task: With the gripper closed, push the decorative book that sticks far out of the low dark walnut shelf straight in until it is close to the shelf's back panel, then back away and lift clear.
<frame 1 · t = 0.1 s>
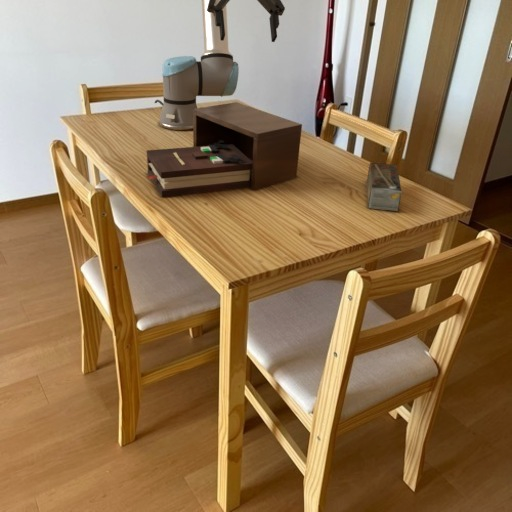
hand: (248, 38, 124), 36 cm above the table, tool tilted 35°, fingers open, 13 cm apart
decorative book: (199, 180, 135), on the table
beverage carton: (380, 196, 132), on the table
walnut shelf: (243, 168, 144), on the table
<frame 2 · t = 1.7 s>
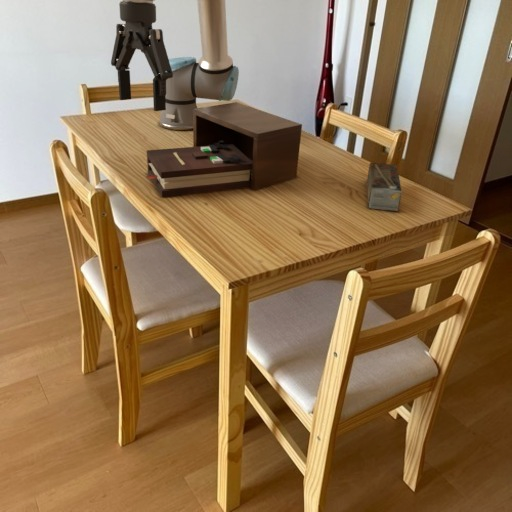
hand: (142, 104, 112), 23 cm above the table, tool pointing down, fingers open, 13 cm apart
nothing on the table moved.
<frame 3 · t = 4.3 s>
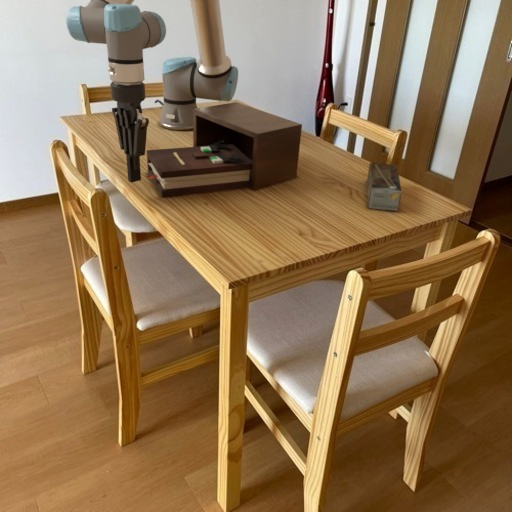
hand: (134, 180, 120), 5 cm above the table, tool pointing down, fingers closed
nothing on the table moved.
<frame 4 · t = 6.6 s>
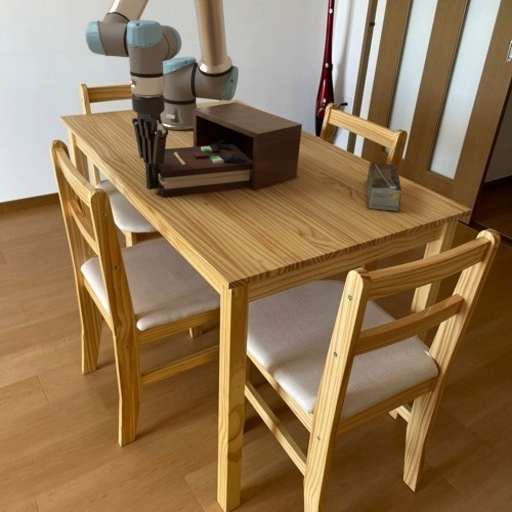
hand: (153, 187, 125), 1 cm above the table, tool pointing down, fingers closed
decorative book: (200, 180, 135), on the table, touching gripper
everything else where it was.
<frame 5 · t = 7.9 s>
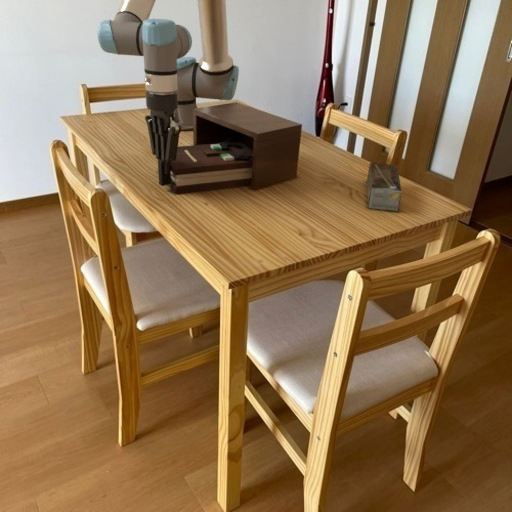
hand: (165, 183, 127), 2 cm above the table, tool pointing down, fingers closed
decorative book: (210, 177, 137), on the table, touching gripper
everything else where it was.
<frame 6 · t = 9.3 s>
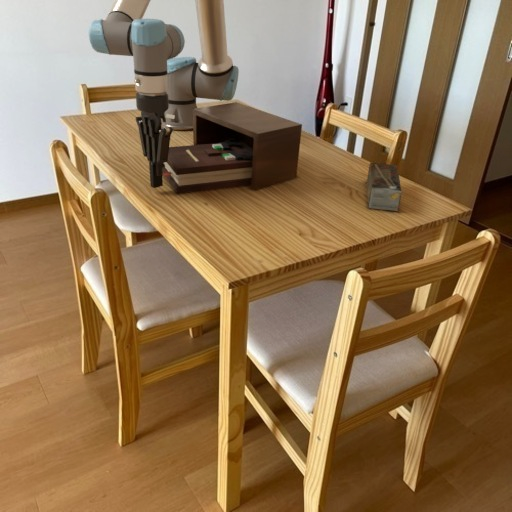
hand: (156, 185, 125), 2 cm above the table, tool pointing down, fingers closed
decorative book: (211, 177, 137), on the table
everything else where it was.
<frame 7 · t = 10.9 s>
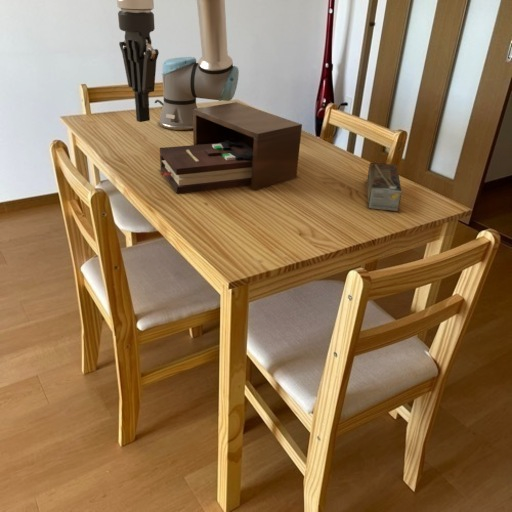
hand: (143, 120, 115), 19 cm above the table, tool pointing down, fingers closed
nothing on the table moved.
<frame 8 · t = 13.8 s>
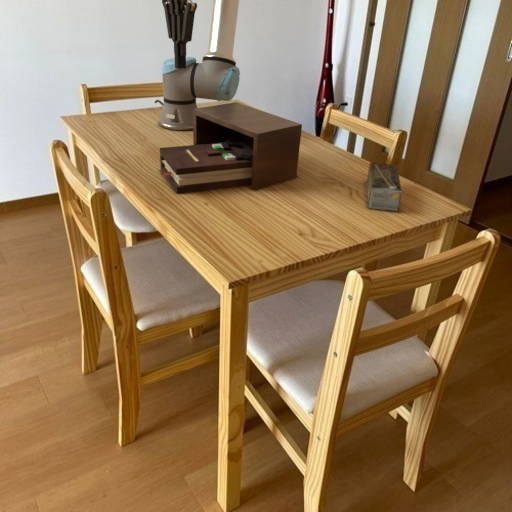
hand: (180, 67, 135), 26 cm above the table, tool pointing down, fingers closed
nothing on the table moved.
at the end: decorative book inside the target area (1.7 cm from its centre), on the table; decorative book moved 4.3 cm from its start; decorative book tilted 1° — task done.
